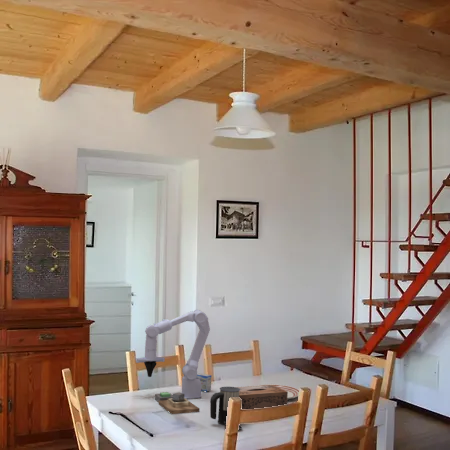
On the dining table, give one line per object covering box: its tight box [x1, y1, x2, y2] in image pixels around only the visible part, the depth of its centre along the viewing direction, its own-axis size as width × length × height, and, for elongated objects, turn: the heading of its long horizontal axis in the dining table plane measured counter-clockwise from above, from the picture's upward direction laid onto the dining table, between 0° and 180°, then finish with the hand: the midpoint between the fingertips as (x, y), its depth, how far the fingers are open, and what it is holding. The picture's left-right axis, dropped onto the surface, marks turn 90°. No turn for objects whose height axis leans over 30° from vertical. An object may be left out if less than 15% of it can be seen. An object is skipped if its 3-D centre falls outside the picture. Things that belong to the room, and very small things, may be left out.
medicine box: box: [196, 372, 213, 393], centre depth 311 cm, size 8×4×9 cm, turn 62°
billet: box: [172, 392, 185, 402], centre depth 275 cm, size 4×4×5 cm
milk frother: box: [209, 386, 243, 429], centre depth 251 cm, size 14×16×15 cm
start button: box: [159, 391, 171, 397], centre depth 287 cm, size 4×4×2 cm
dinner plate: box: [256, 383, 300, 401], centre depth 306 cm, size 27×27×3 cm
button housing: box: [154, 392, 173, 403], centre depth 287 cm, size 8×8×2 cm
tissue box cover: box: [235, 384, 288, 409], centre depth 277 cm, size 26×14×10 cm, turn 115°
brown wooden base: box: [158, 398, 200, 415], centre depth 275 cm, size 14×18×4 cm
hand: (149, 376), depth 292 cm, fingers closed
